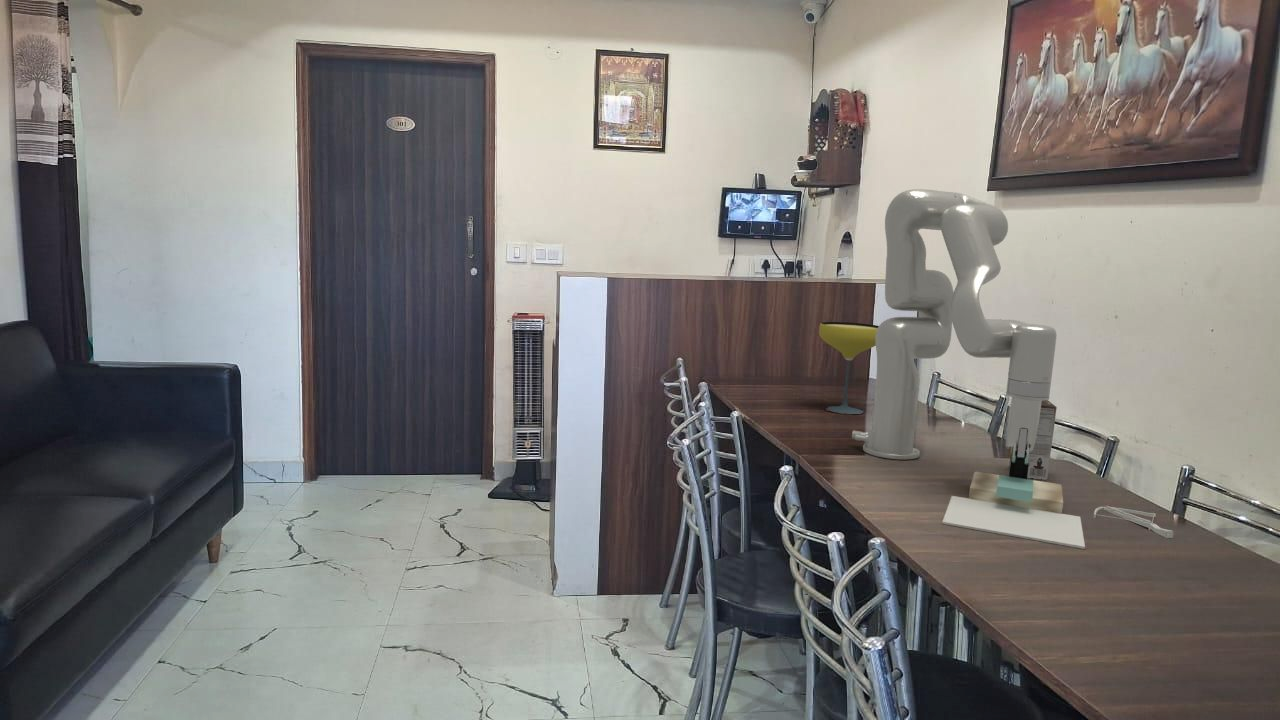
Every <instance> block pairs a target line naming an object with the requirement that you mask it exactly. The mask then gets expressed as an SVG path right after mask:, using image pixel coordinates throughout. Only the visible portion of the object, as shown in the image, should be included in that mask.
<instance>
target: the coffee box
mask: <svg viewBox="0 0 1280 720" xmlns="http://www.w3.org/2000/svg"><path fill="white" fill-rule="evenodd" d="M1057 409H1058V408H1057V406H1056V405H1055V404H1053V403H1052V402H1051V401H1050V400H1042V402H1041V410H1040V418H1039V425H1038V431H1037V436H1036V440H1035V444H1034V448H1033V450H1032V451H1030V449H1029V456H1028V463H1029V467H1028V475H1027V479H1030V478H1033V479H1032V480H1041V479H1042V480H1043V481H1048V476H1049V470H1050V469H1049V468H1050V463H1051V462H1050V461H1051V453H1052V447H1053V446H1052V445H1053V439H1054V438H1053V437H1054V430H1055V423H1056V414H1057ZM1013 447H1014V446H1013ZM1013 447H1010V453H1009V462H1008V464H1009V465H1008V467H1009V468H1010V463H1011V461H1012V458H1013ZM1015 459H1016V458H1015Z"/></svg>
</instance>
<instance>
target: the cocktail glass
mask: <svg viewBox="0 0 1280 720" xmlns="http://www.w3.org/2000/svg"><path fill="white" fill-rule="evenodd" d="M878 327H879V325H877V324H870V323H861V322H860V323H859V322H849V321H848V322H847V321H846V322H845V321H823V322H820V324H819V326H818V335H819V337H820V338H821V339H822V340H823V342H825V343H826V344H828V345H830V346H831V347H833V349H836V350H837V351H839V352H840V353H841V355H842V357H843V358H844V359H845V360H846V361H847V363H846V365H847V366H846V374H845V386H844V394H843V399H842V403H841V405H837V406H836V405H833V406H827V407H828V409H829V410H831V411H833V412H839V413H847V414H861V413H863V412H864V411H863V410H862V411H861V409H859V408H855V407H851V406H849V405H848V386H849V374H850V364H851V363H850V362H851V361H853V360H854V358H855V357H856V356H857V355H858V354H860V353H862V352H865V351H867V350H869V349H872V348H874V347H876V343H875V336H876V331H877V329H878ZM863 414H864V413H863ZM861 415H862V414H861Z"/></svg>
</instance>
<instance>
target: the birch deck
mask: <svg viewBox="0 0 1280 720" xmlns="http://www.w3.org/2000/svg"><path fill="white" fill-rule="evenodd" d="M999 475H1000V474H994V473H987V472H981V471H974V473H973V476H972V478H971V482H970V486H969V490H968V491H969V493H968V498H969V499H975V500H981V501H987V502H993V503H999V504H1005V505H1012V506H1018V507H1024V508H1030V509H1036V510H1042V511H1048V512H1055V513H1061V514H1063V509H1064V508H1063V507H1064V497H1063V496H1064V494H1063V487H1062V484H1060V483H1055V482H1050V481H1049V482H1048V481H1040V480H1036V479H1032V480H1033V496H1032V502H1027V501H1020V500H1014V499H1008V498H1002V497H996V492H997V485H998V480H999Z"/></svg>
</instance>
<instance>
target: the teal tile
mask: <svg viewBox="0 0 1280 720" xmlns="http://www.w3.org/2000/svg"><path fill="white" fill-rule="evenodd" d="M998 475H999V480H998V485H997V492H996V497H1002V498H1008V499H1014V500H1020V501H1027V502H1032V496H1033V480H1034V479H1030V478H1027V479H1022V478H1016V477H1009V475H1001V474H998Z"/></svg>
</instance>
